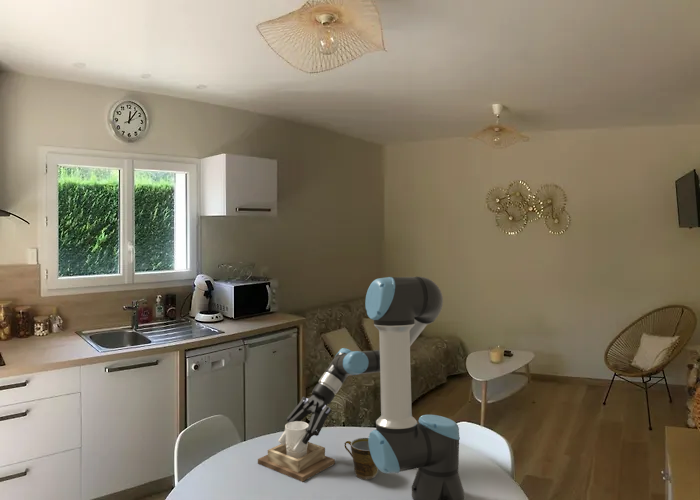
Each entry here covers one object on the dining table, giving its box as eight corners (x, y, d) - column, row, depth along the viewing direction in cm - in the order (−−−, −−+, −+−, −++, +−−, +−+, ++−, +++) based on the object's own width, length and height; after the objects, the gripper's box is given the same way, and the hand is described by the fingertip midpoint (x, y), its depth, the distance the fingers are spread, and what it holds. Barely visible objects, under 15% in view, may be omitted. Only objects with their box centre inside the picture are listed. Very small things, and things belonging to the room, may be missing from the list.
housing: (334, 463, 173) (335, 449, 172) (302, 481, 160) (302, 465, 160) (291, 447, 185) (291, 434, 184) (257, 463, 172) (257, 448, 172)
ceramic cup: (386, 472, 167) (387, 441, 167) (372, 485, 158) (372, 453, 158) (352, 462, 174) (352, 433, 173) (336, 474, 165) (336, 443, 165)
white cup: (281, 452, 174) (282, 423, 174) (303, 448, 177) (304, 419, 177) (289, 462, 167) (289, 431, 167) (312, 457, 170) (312, 427, 170)
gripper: (352, 402, 174) (314, 463, 164) (313, 388, 189) (276, 443, 179) (340, 389, 171) (301, 451, 160) (302, 376, 186) (264, 432, 175)
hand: (288, 447), depth 170 cm, fingers open, 8 cm apart
